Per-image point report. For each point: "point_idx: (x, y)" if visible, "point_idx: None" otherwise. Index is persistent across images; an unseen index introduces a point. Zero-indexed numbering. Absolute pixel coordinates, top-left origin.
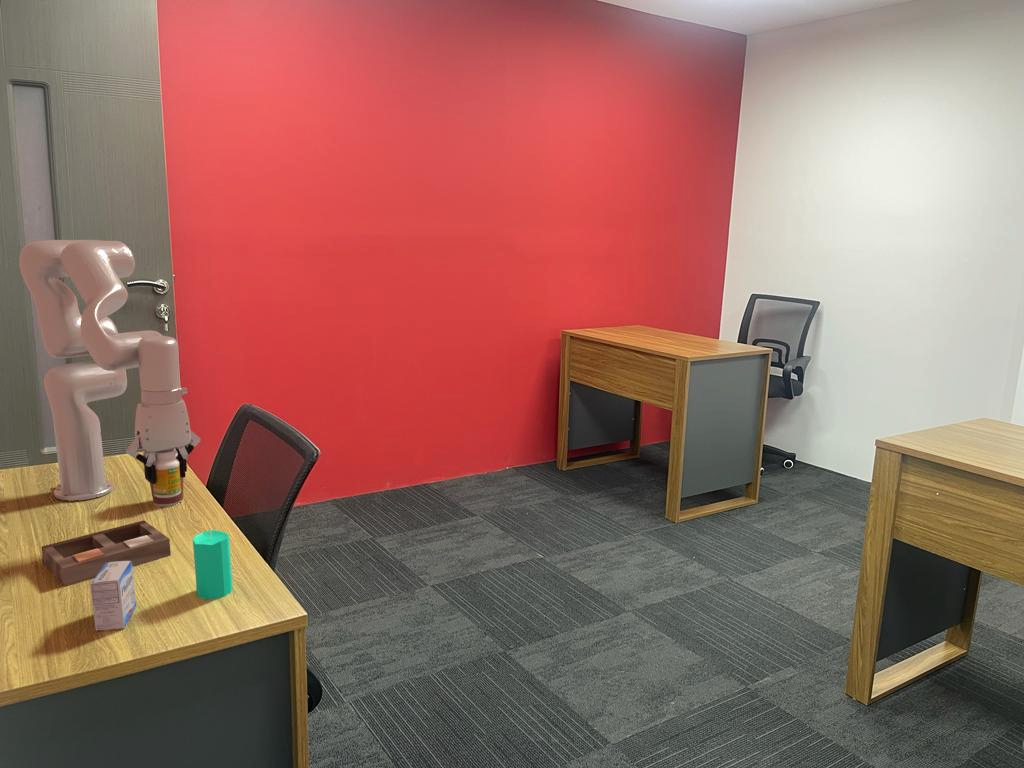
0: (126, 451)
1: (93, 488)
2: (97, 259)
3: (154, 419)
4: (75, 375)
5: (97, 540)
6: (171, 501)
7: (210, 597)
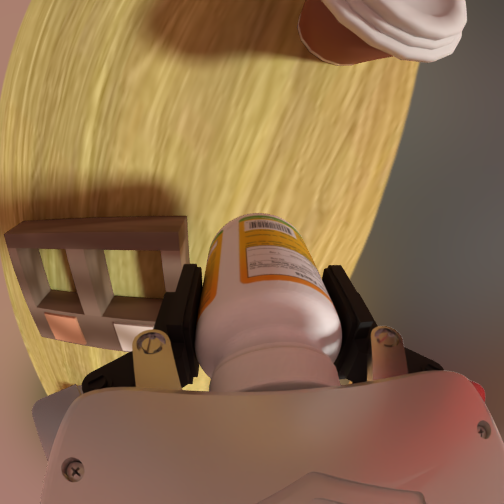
0: (37, 415)
1: None
2: None
3: None
4: None
5: (73, 278)
6: (334, 60)
7: None
